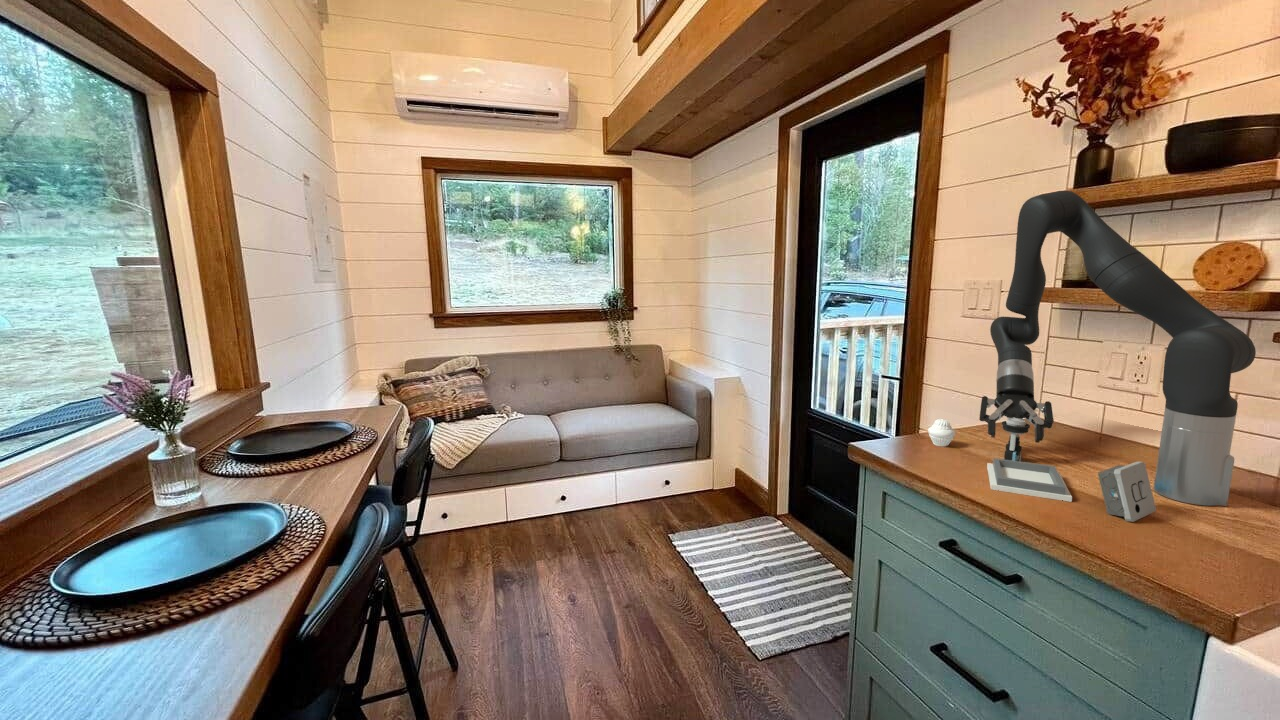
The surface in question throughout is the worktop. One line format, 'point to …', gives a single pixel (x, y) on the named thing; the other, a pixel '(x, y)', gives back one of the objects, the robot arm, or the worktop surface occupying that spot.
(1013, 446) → the push button
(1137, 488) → the electrical outlet
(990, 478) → the grey square tray
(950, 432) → the muffin
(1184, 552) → the worktop surface
